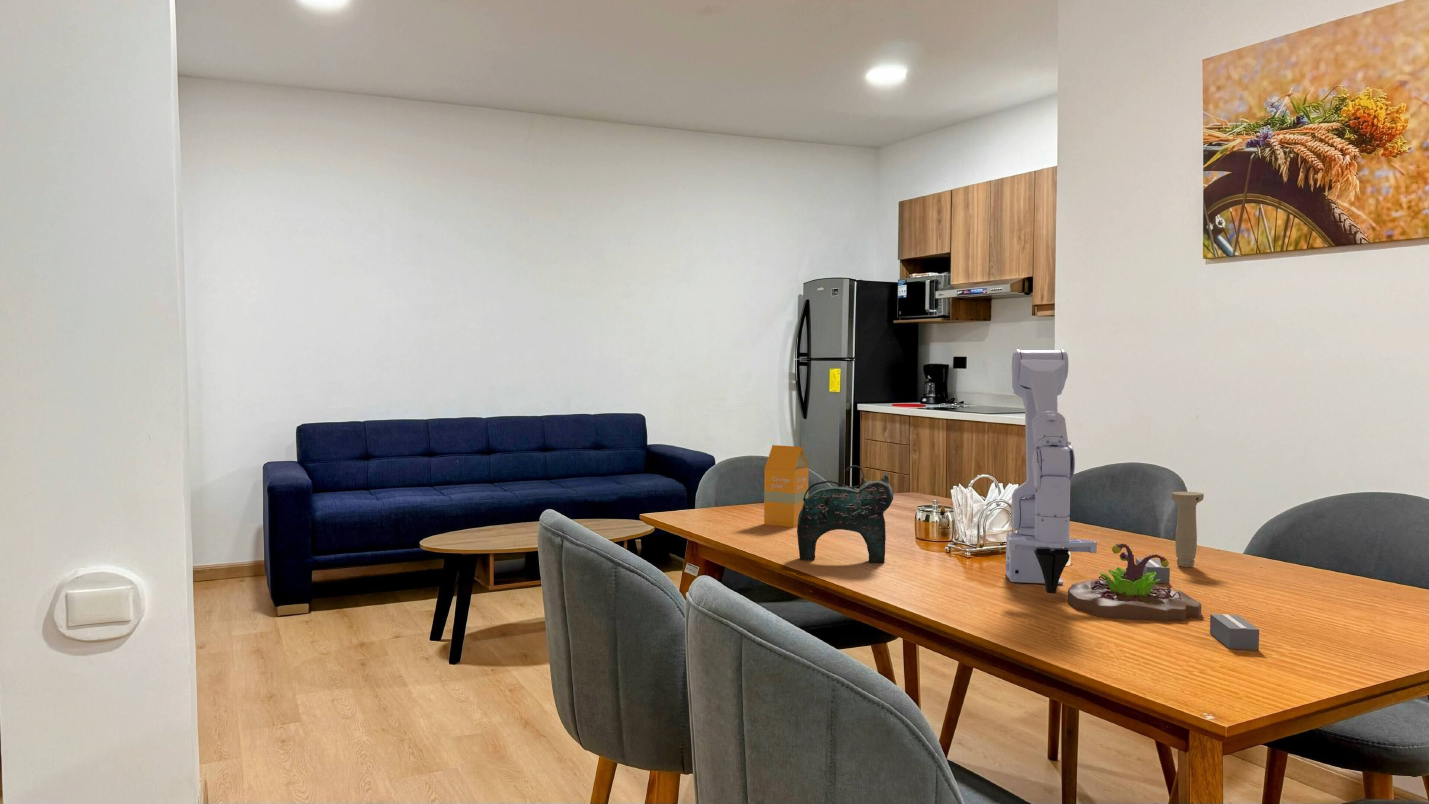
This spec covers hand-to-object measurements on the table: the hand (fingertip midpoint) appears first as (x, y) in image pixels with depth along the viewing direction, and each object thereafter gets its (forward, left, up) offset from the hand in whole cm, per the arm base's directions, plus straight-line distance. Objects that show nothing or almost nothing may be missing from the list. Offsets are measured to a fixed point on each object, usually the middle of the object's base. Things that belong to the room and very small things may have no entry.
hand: (1050, 592), depth 166 cm
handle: (+32, +34, -2) cm, 47 cm away
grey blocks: (+22, 0, -1) cm, 22 cm away
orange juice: (-53, +70, -2) cm, 88 cm away
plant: (+12, -2, -2) cm, 13 cm away
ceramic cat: (-37, +27, -2) cm, 45 cm away
